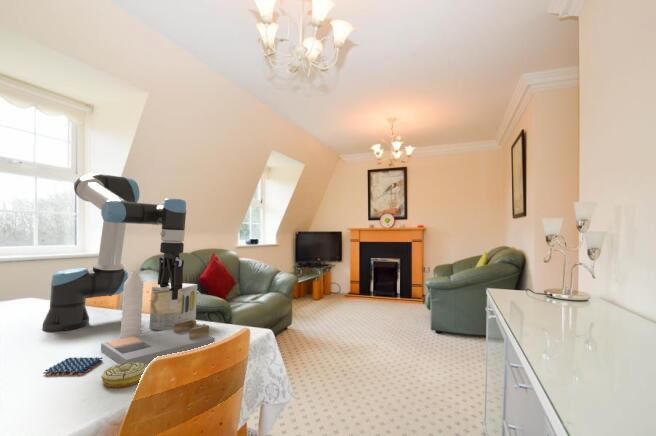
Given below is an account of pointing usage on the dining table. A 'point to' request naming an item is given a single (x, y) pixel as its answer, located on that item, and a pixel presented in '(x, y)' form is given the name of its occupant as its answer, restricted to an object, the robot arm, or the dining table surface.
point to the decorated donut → (123, 374)
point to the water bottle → (132, 306)
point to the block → (163, 302)
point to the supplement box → (185, 314)
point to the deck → (152, 346)
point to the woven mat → (73, 366)
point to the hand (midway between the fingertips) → (168, 306)
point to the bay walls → (192, 329)
